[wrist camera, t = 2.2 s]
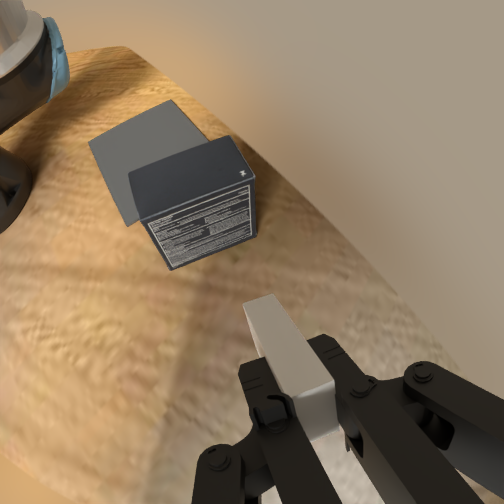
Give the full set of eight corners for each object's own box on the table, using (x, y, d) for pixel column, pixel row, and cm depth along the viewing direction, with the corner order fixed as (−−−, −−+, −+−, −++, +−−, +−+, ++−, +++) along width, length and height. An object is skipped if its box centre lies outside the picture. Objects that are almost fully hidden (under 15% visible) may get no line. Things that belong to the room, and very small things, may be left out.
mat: (88, 143, 43) (88, 142, 43) (170, 100, 47) (170, 99, 47) (127, 227, 37) (126, 225, 36) (231, 168, 40) (231, 167, 40)
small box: (236, 194, 38) (230, 130, 29) (258, 237, 36) (259, 177, 26) (153, 226, 37) (125, 169, 27) (169, 273, 34) (139, 223, 25)
